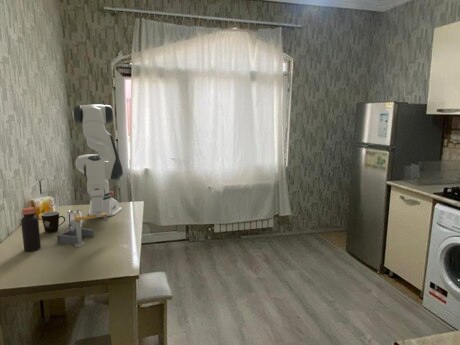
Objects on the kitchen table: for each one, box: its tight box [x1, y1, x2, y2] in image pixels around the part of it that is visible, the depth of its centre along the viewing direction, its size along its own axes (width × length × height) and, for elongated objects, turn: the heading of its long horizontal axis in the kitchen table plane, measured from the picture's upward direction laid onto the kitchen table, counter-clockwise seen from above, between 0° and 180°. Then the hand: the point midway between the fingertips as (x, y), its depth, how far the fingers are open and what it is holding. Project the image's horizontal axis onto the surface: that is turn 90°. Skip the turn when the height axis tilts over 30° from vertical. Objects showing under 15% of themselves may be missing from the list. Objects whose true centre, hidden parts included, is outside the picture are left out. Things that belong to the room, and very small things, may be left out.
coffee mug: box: [40, 210, 66, 234], centre depth 173 cm, size 12×9×10 cm
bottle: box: [20, 206, 42, 253], centre depth 149 cm, size 7×7×20 cm
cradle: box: [56, 221, 95, 248], centre depth 160 cm, size 13×14×12 cm
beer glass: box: [66, 209, 84, 240], centre depth 161 cm, size 7×7×15 cm
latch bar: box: [75, 213, 109, 222], centre depth 157 cm, size 15×3×4 cm, turn 123°
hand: (98, 216), depth 156 cm, fingers closed
